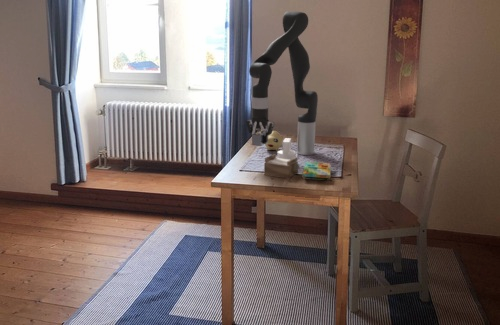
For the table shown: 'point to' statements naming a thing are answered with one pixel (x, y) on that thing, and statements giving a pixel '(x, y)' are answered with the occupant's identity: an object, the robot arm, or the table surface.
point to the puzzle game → (317, 171)
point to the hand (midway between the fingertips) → (260, 142)
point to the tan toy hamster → (274, 141)
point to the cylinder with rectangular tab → (286, 150)
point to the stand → (280, 166)
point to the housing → (257, 138)
